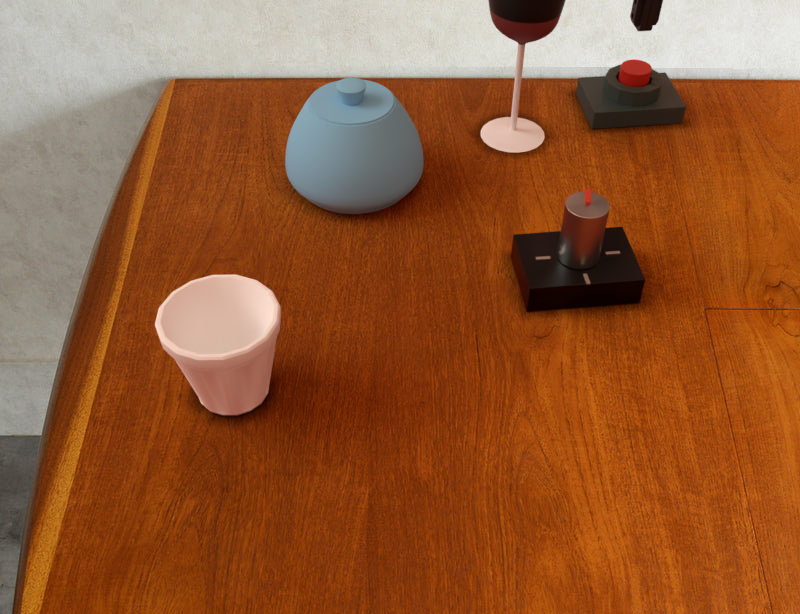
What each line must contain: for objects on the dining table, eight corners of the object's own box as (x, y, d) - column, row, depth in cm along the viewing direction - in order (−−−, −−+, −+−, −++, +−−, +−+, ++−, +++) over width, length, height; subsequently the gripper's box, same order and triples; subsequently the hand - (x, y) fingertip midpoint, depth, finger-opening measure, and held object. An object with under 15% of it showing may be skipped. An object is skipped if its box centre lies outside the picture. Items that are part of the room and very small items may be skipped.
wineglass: (532, 161, 101) (554, -17, 86) (463, 140, 104) (473, -36, 89) (560, 128, 106) (586, -47, 91) (493, 108, 108) (508, -65, 93)
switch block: (661, 88, 111) (669, 58, 108) (682, 123, 106) (690, 92, 103) (575, 93, 111) (580, 63, 108) (591, 129, 105) (597, 98, 102)
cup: (283, 342, 82) (272, 265, 75) (298, 424, 76) (288, 348, 69) (173, 359, 81) (152, 282, 74) (179, 444, 74) (156, 368, 67)
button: (643, 72, 107) (646, 58, 106) (652, 87, 105) (655, 73, 103) (614, 74, 107) (617, 60, 105) (622, 89, 104) (625, 75, 103)
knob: (599, 271, 84) (611, 217, 79) (556, 267, 84) (565, 213, 80) (598, 244, 87) (610, 190, 82) (557, 241, 87) (566, 186, 82)
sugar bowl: (439, 210, 95) (442, 112, 87) (300, 232, 93) (289, 133, 84) (404, 134, 105) (404, 39, 96) (277, 152, 102) (266, 56, 94)
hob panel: (616, 249, 91) (622, 224, 89) (639, 304, 86) (646, 278, 83) (510, 257, 90) (513, 232, 88) (526, 312, 85) (530, 287, 82)
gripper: (624, -128, 85) (593, 47, 98) (758, -133, 86) (710, 41, 99) (603, -155, 90) (576, 15, 103) (730, -159, 91) (688, 9, 104)
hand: (642, 27), depth 101 cm, fingers closed
